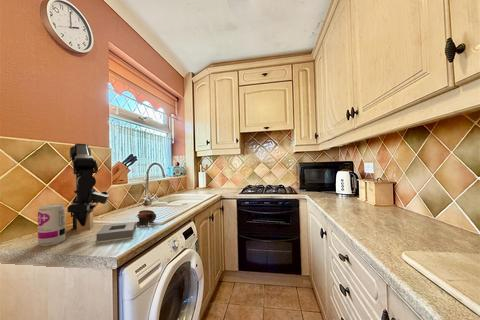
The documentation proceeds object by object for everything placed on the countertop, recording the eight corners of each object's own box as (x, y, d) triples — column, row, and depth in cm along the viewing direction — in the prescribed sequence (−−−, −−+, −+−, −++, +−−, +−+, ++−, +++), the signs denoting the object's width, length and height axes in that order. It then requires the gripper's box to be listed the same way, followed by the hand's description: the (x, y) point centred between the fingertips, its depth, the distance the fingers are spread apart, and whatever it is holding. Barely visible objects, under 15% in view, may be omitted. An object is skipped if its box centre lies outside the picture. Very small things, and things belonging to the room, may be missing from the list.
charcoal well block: (96, 242, 84) (96, 234, 84) (104, 232, 96) (104, 225, 96) (132, 238, 88) (132, 229, 88) (135, 228, 101) (135, 221, 101)
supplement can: (46, 248, 80) (45, 208, 80) (33, 245, 82) (33, 207, 82) (70, 240, 87) (69, 204, 87) (57, 238, 90) (57, 203, 90)
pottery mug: (130, 227, 105) (133, 211, 109) (144, 230, 112) (147, 215, 117) (148, 223, 101) (151, 206, 105) (162, 226, 109) (164, 211, 113)
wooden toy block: (76, 231, 85) (76, 214, 85) (80, 228, 89) (80, 211, 89) (90, 230, 87) (89, 213, 87) (93, 227, 91) (93, 210, 91)
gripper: (101, 188, 82) (101, 228, 82) (111, 183, 99) (112, 216, 99) (66, 190, 78) (67, 232, 78) (83, 185, 96) (84, 219, 95)
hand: (85, 224), depth 88 cm, fingers closed on wooden toy block, 4 cm apart
